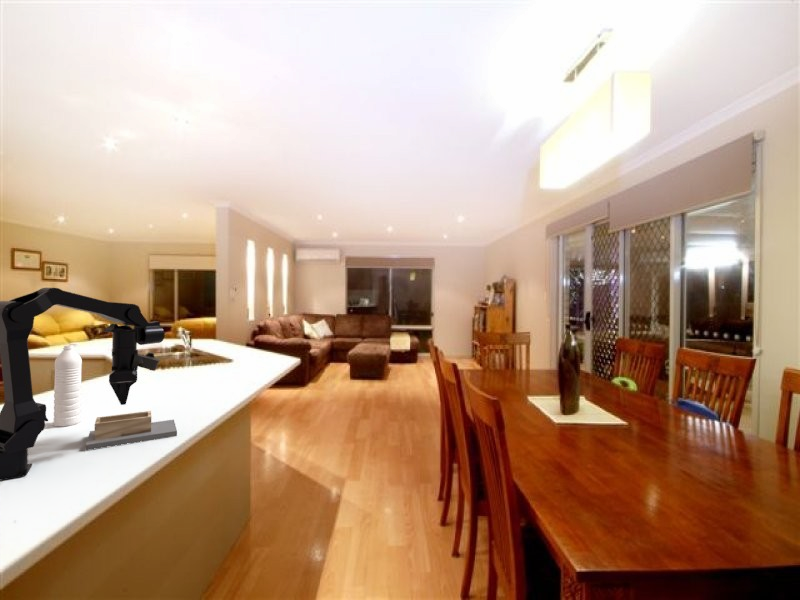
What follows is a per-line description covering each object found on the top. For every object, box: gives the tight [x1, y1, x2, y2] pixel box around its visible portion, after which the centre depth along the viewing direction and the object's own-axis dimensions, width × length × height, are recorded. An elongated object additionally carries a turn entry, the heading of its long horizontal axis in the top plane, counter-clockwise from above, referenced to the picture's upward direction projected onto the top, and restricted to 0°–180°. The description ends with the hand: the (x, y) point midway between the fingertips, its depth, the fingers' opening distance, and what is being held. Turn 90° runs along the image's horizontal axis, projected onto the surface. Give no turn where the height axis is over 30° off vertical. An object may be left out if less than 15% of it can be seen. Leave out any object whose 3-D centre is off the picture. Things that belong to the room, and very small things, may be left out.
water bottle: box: [53, 342, 83, 428], centre depth 122 cm, size 9×6×25 cm
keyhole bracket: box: [94, 410, 152, 440], centre depth 111 cm, size 6×13×4 cm, turn 124°
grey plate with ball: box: [84, 419, 178, 451], centre depth 112 cm, size 12×21×4 cm, turn 124°
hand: (123, 400), depth 111 cm, fingers open, 9 cm apart
